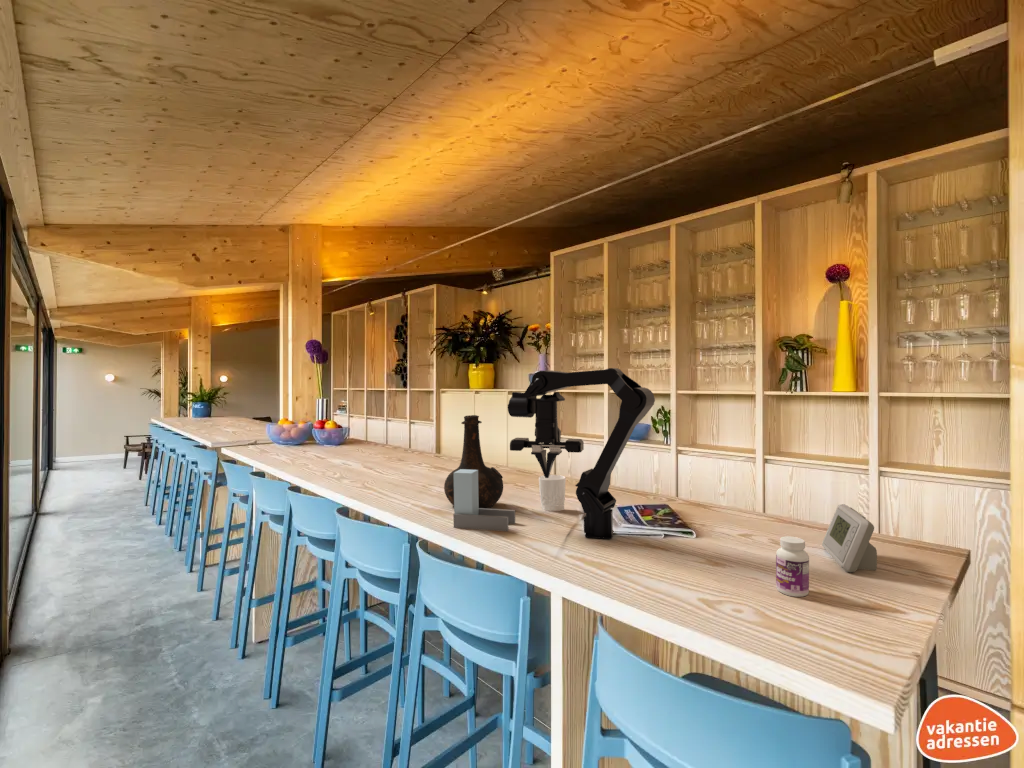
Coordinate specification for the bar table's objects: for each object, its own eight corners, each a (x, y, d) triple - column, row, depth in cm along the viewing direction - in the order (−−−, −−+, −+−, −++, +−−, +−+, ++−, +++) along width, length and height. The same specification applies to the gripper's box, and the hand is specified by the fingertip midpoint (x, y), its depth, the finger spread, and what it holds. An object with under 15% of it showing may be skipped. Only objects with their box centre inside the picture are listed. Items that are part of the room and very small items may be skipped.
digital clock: (821, 547, 122) (821, 501, 122) (868, 553, 118) (868, 504, 118) (826, 571, 107) (826, 518, 107) (880, 578, 103) (880, 524, 103)
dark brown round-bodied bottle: (502, 515, 153) (500, 417, 153) (440, 515, 154) (438, 418, 153) (504, 500, 171) (503, 412, 171) (449, 500, 172) (447, 413, 171)
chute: (515, 526, 142) (515, 510, 142) (507, 534, 135) (507, 517, 135) (464, 522, 146) (464, 507, 146) (453, 530, 139) (453, 514, 139)
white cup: (566, 507, 160) (565, 474, 160) (566, 515, 153) (565, 480, 152) (539, 507, 161) (539, 474, 161) (538, 514, 153) (537, 479, 153)
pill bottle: (771, 591, 98) (771, 539, 98) (781, 583, 102) (781, 533, 102) (803, 600, 94) (803, 546, 94) (813, 591, 98) (813, 539, 98)
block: (478, 521, 144) (478, 469, 143) (472, 527, 139) (471, 473, 138) (461, 520, 145) (460, 469, 145) (454, 525, 140) (453, 472, 140)
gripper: (586, 416, 146) (586, 473, 146) (519, 415, 151) (520, 470, 151) (580, 419, 135) (580, 481, 135) (508, 418, 140) (509, 478, 140)
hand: (547, 477), depth 141 cm, fingers closed
